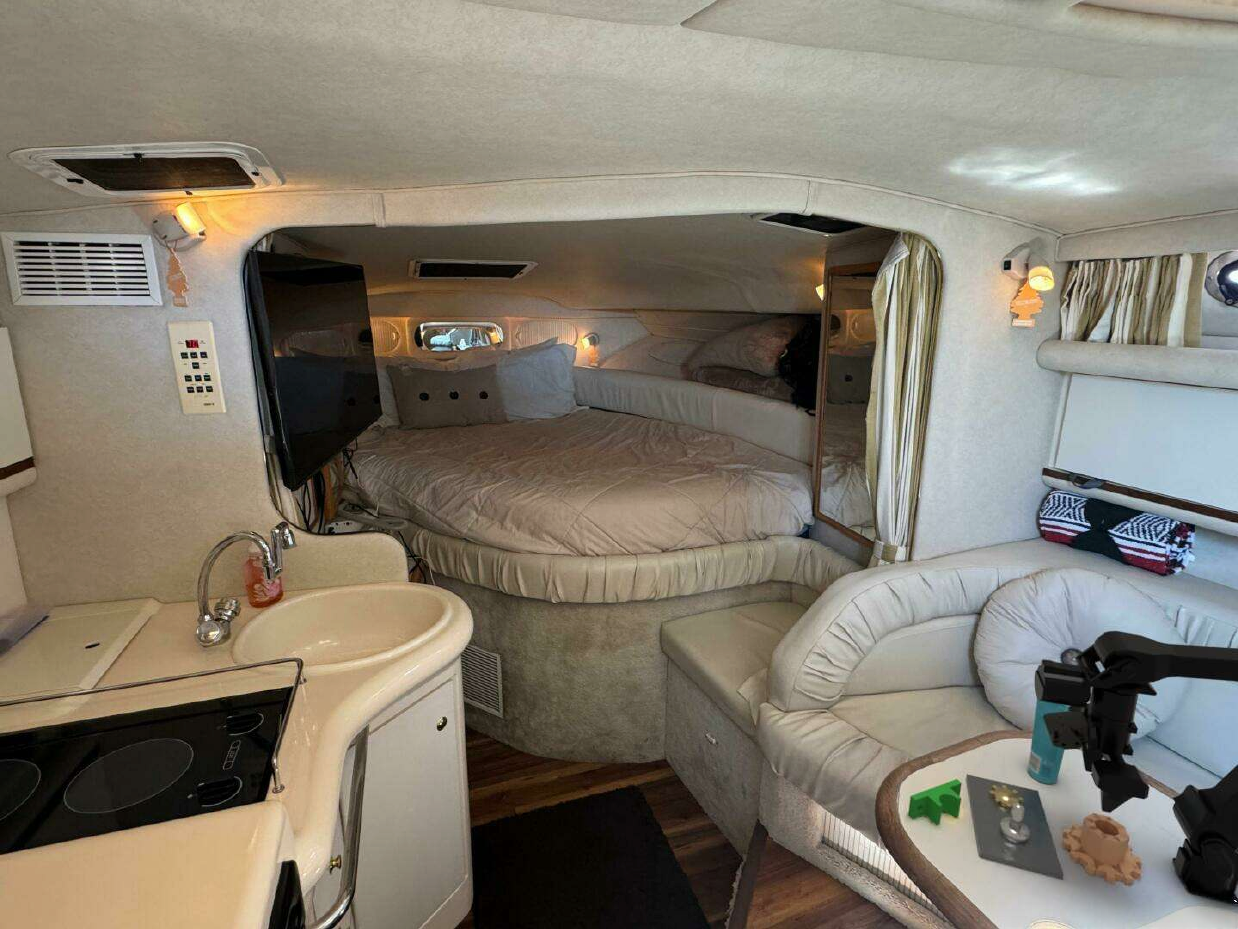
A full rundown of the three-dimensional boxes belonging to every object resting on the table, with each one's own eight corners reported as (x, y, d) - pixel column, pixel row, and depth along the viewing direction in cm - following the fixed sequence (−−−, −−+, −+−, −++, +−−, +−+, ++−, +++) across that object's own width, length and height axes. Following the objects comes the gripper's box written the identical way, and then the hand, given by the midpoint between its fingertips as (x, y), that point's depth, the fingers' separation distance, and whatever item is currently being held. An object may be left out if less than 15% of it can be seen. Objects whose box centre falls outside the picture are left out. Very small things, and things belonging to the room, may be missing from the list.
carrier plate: (1036, 795, 119) (1043, 764, 117) (1062, 880, 102) (1070, 845, 100) (966, 778, 124) (970, 748, 122) (979, 857, 107) (985, 823, 105)
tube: (1068, 781, 122) (1086, 697, 117) (1056, 792, 120) (1073, 707, 114) (1028, 758, 128) (1043, 677, 123) (1015, 768, 126) (1030, 686, 120)
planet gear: (1127, 840, 109) (1134, 812, 107) (1151, 894, 100) (1159, 864, 98) (1054, 822, 113) (1060, 795, 111) (1070, 872, 103) (1077, 843, 102)
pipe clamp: (923, 831, 112) (926, 811, 111) (907, 816, 116) (910, 796, 114) (970, 813, 116) (973, 792, 114) (953, 798, 119) (956, 778, 118)
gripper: (1038, 668, 111) (1028, 743, 115) (1066, 737, 94) (1053, 821, 98) (1115, 680, 107) (1101, 756, 111) (1158, 753, 90) (1140, 840, 94)
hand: (1097, 790), depth 104 cm, fingers open, 9 cm apart
